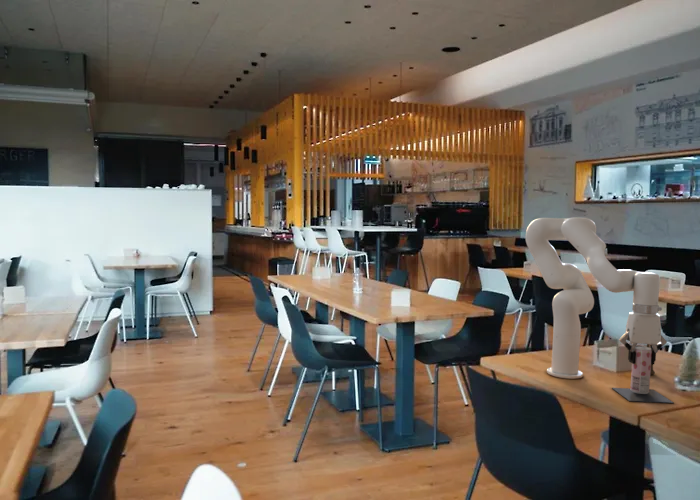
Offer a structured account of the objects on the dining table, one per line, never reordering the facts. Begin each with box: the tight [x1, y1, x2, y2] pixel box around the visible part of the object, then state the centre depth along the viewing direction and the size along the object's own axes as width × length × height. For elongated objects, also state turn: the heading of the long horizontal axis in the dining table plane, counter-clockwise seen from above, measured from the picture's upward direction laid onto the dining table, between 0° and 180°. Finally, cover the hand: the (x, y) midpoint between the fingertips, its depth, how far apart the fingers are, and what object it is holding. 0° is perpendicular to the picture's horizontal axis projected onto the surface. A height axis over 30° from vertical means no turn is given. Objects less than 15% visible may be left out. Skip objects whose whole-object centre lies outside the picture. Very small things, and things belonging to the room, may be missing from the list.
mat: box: [611, 387, 675, 404], centre depth 197 cm, size 14×14×1 cm
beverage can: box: [629, 345, 652, 394], centre depth 198 cm, size 6×6×15 cm
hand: (641, 362), depth 198 cm, fingers closed on beverage can, 5 cm apart
